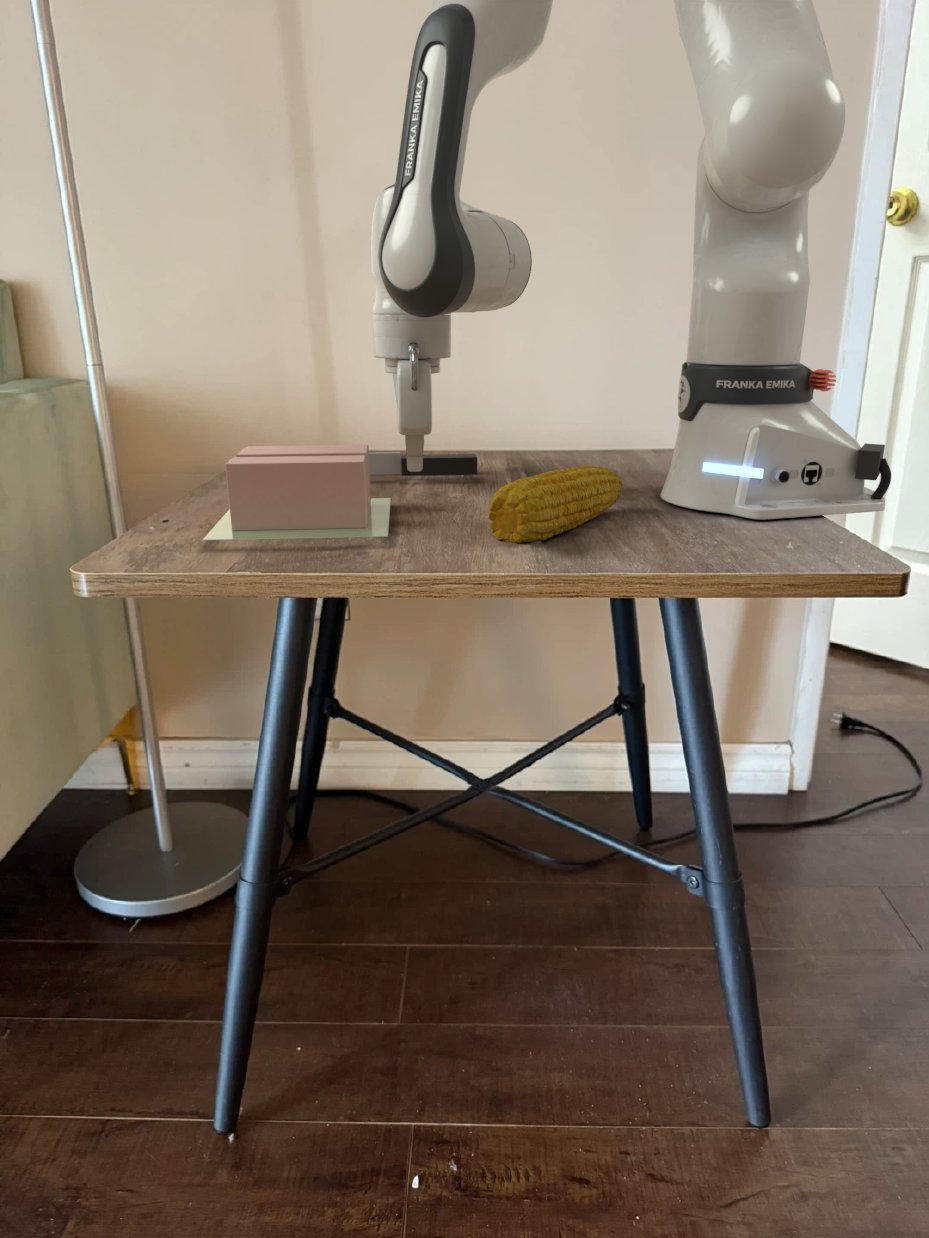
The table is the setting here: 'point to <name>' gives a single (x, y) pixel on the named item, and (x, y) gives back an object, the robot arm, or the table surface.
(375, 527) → the plate
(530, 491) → the food
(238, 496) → the dusty pink brick
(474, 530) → the table surface
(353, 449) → the pink rectangular block
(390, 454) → the knife
